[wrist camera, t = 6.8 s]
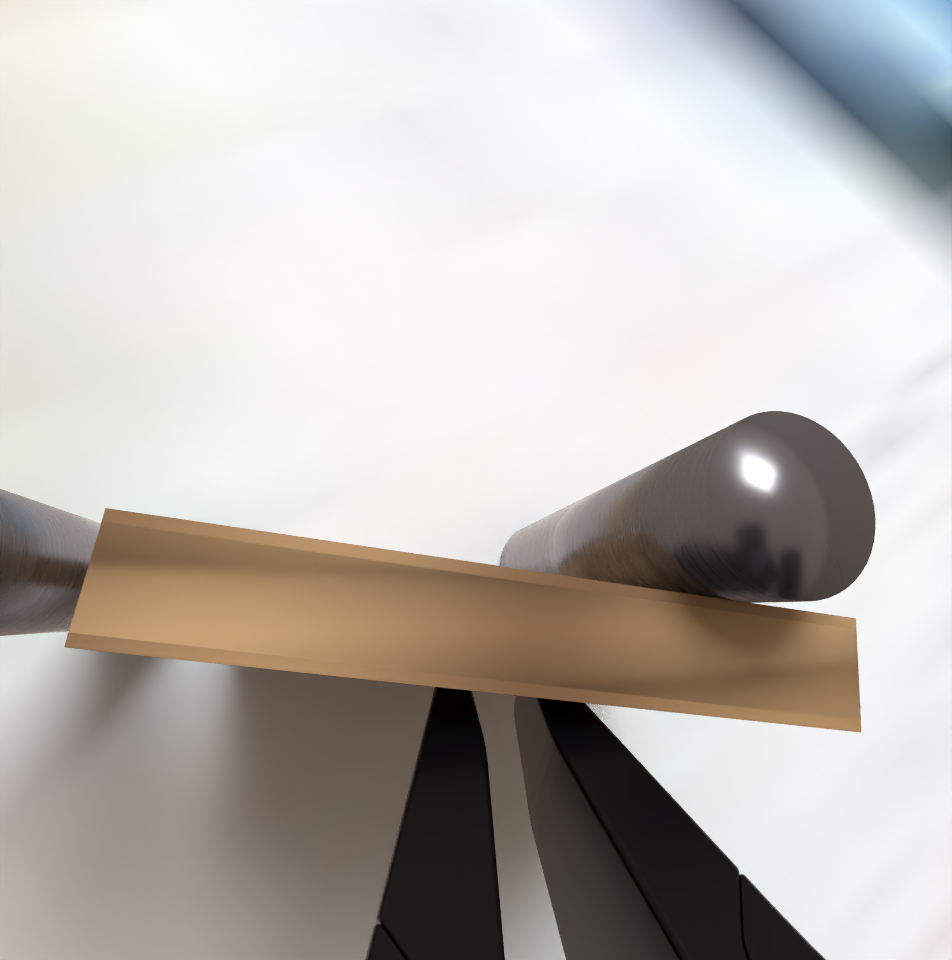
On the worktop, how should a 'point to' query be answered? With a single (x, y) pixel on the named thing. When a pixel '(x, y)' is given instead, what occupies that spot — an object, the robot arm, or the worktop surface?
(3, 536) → the hinge post
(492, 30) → the worktop surface
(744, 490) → the post
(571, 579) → the light wooden flat block
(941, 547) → the worktop surface
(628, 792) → the robot arm
